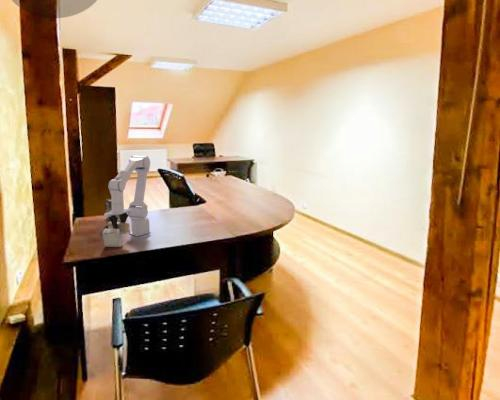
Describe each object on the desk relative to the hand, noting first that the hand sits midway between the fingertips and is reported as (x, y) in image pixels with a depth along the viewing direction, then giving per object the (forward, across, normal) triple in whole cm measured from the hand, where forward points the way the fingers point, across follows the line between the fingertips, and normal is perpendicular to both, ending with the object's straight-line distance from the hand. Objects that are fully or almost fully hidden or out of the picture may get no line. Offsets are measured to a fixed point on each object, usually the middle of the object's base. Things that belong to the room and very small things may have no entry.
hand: (119, 228), depth 189 cm
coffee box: (+9, -16, -31) cm, 36 cm away
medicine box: (+8, +3, 0) cm, 9 cm away
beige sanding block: (+2, 0, 0) cm, 2 cm away
